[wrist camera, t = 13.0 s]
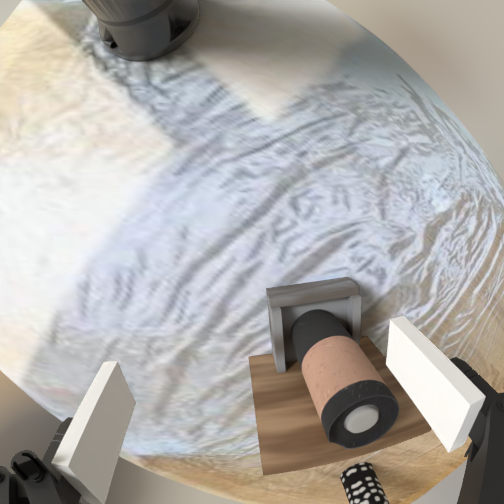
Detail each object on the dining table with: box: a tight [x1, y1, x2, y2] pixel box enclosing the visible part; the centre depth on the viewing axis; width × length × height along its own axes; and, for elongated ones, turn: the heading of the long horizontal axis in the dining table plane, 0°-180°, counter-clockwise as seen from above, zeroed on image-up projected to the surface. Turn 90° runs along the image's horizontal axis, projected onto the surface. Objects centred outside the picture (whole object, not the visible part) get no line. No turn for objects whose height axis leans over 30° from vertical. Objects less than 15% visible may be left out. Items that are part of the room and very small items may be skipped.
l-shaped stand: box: [249, 277, 432, 475], centre depth 35 cm, size 13×20×22 cm, turn 96°
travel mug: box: [291, 309, 399, 449], centre depth 33 cm, size 8×8×20 cm
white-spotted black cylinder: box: [340, 462, 389, 504], centre depth 48 cm, size 8×8×20 cm
